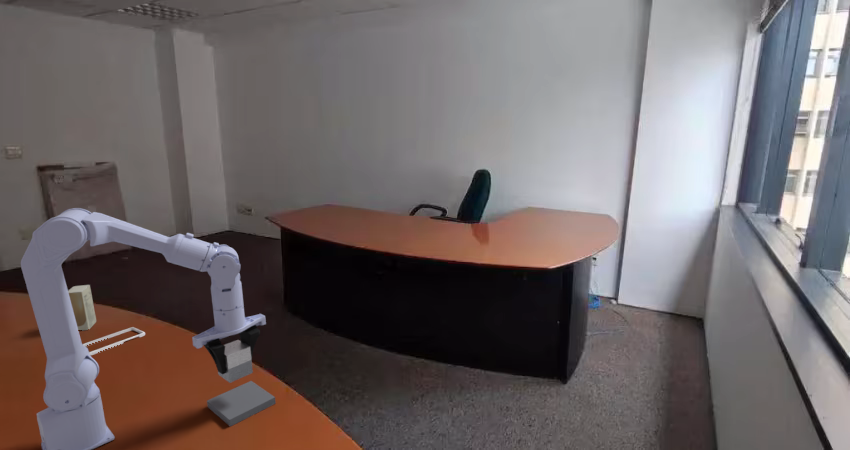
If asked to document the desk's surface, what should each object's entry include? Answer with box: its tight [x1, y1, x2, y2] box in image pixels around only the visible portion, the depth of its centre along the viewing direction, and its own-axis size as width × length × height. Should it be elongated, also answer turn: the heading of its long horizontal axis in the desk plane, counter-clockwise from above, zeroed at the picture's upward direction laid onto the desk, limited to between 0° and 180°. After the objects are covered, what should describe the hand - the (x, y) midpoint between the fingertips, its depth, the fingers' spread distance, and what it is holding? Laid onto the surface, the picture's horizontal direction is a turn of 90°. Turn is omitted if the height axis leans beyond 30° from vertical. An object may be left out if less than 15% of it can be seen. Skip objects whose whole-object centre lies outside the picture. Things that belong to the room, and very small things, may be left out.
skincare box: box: [68, 284, 97, 331], centre depth 134 cm, size 6×4×12 cm
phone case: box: [82, 326, 146, 357], centre depth 125 cm, size 7×1×15 cm
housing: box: [217, 339, 254, 384], centre depth 94 cm, size 5×5×6 cm
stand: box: [206, 380, 277, 427], centre depth 96 cm, size 10×10×2 cm
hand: (235, 366), depth 94 cm, fingers closed on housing, 5 cm apart
